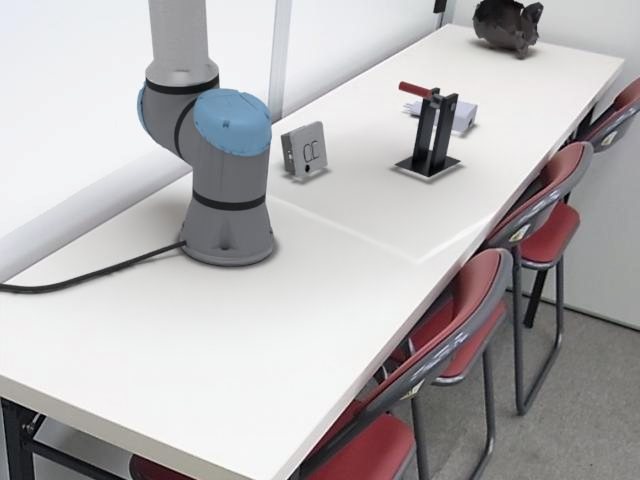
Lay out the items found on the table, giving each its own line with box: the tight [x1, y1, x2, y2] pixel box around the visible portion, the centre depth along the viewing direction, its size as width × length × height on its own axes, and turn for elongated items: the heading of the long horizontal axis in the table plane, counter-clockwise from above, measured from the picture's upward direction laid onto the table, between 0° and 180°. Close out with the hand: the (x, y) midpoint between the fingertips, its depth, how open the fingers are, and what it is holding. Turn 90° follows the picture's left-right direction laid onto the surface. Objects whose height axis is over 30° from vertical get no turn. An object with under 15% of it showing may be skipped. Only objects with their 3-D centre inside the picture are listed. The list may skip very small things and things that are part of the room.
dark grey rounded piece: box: [471, 0, 545, 57], centre depth 245 cm, size 14×15×20 cm
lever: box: [398, 80, 445, 110], centre depth 167 cm, size 13×6×2 cm, turn 139°
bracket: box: [394, 86, 462, 178], centre depth 175 cm, size 12×8×15 cm, turn 139°
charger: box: [402, 100, 479, 133], centre depth 198 cm, size 5×9×15 cm
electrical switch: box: [280, 120, 328, 179], centre depth 171 cm, size 9×5×9 cm, turn 141°
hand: (405, 3), depth 160 cm, fingers open, 13 cm apart
